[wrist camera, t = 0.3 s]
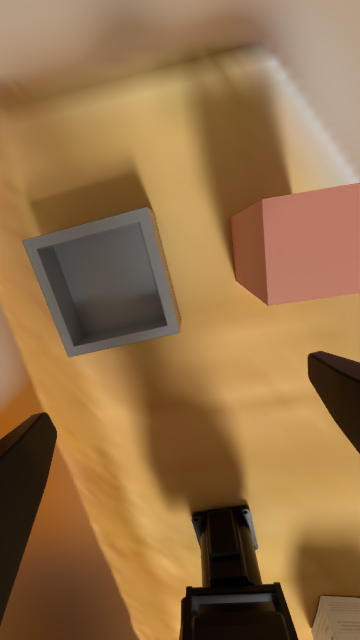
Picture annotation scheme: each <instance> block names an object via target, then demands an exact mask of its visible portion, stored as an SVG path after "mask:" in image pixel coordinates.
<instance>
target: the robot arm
mask: <svg viewBox="0 0 360 640" xmlns="http://www.w3.org/2000/svg"><path fill="white" fill-rule="evenodd" d="M308 376H309V379H310V382H311V383H312V385H313V386H314V388H315V390H316V391H317V393H318V395H319V396H320V398H321V400H322V401H323V403H324V405H325V406H326V408H327V409H328V411H329V413H330V414H331V416H332V417H333V419H334V421H335V422H336V423H337V425H338V426H339V427H340V429H341V430H342V431H343V433H344V434H345V435H346V437H347V438H348V439H349V440H350V442H351V443H352V444H353V446H354V447H355V448H356V450H357V451H358V452H359V454H360V363H359V362H356V361H353V360H350V359H346V358H343V357H340V356H336V355H333V354H330V353H326V352H323V351H318V352H314V353H310V354H309V355H308ZM56 439H57V431H56V428H55V426H54V424H53V423H52V421H51V419H50V417H49V415H48V414H47V413H45V412H43V413H38V414H34V415H32V416H31V417H29V418H28V419H27V420H25V421H24V422H23V423H21V424H20V425H19V426H17V427H16V428H15V429H14V430H12V431H11V432H10V433H8V434H7V435H6V436H5V437H3V438H2V439H0V625H1V622H2V619H3V616H4V613H5V609H6V607H7V604H8V600H9V597H10V594H11V591H12V588H13V585H14V582H15V579H16V576H17V573H18V570H19V567H20V564H21V560H22V557H23V554H24V551H25V548H26V545H27V542H28V539H29V536H30V533H31V530H32V526H33V523H34V520H35V517H36V514H37V511H38V508H39V505H40V502H41V498H42V496H43V493H44V489H45V486H46V483H47V479H48V475H49V470H50V466H51V461H52V457H53V452H54V448H55V443H56ZM192 523H193V526H194V529H195V532H196V536H197V539H198V542H199V545H200V549H201V567H202V587H194V588H192V586H187V587H186V597H184V598H183V599H182V600H181V628H180V636H179V640H298V637H297V634H296V631H295V628H294V625H293V622H292V619H291V616H290V612H289V609H288V606H287V603H286V600H285V597H284V594H283V591H282V588H281V585H280V582H274V584H262V580H261V576H260V571H259V567H258V562H257V558H256V553H255V550H257V549H258V545H257V541H256V536H255V532H254V527H253V523H252V518H251V514H250V509H249V507H248V506H238V507H231V508H225V509H218V510H212V511H205V512H198V513H194V514H192Z"/></svg>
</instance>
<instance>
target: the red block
mask: <svg viewBox="0 0 360 640" xmlns="http://www.w3.org/2000/svg"><path fill="white" fill-rule="evenodd" d="M230 220H231V231H232V242H233V253H234V264H235V275H236V281H237V282H238V283H239V284H241V285H242V286H243V287H245V288H246V289H247V290H248V291H250V292H251V293H252V294H254V295H255V296H256V297H257V298H259V299H260V300H261V301H263V302H264V303H265V304H267V305H268V306H270V305H278V304H285V303H292V302H299V301H306V300H314V299H321V298H328V297H335V296H342V295H350V294H357V293H360V183H356V184H350V185H344V186H338V187H332V188H326V189H320V190H314V191H308V192H302V193H296V194H290V195H284V196H278V197H272V198H266V199H262V200H260V201H258V202H256V203H255V204H253V205H251V206H250V207H248V208H246V209H245V210H243V211H241V212H239V213H238V214H236V215H234V216H233V217H231V218H230Z"/></svg>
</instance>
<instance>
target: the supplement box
mask: <svg viewBox="0 0 360 640" xmlns="http://www.w3.org/2000/svg"><path fill="white" fill-rule="evenodd" d="M311 632H312V635H313V638H314V640H360V598H356V597H339V596H321V597H320V602H319V607H318V611H317V614H316V618H315V621H314V624H313V627H312V630H311Z"/></svg>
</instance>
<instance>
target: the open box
mask: <svg viewBox="0 0 360 640" xmlns="http://www.w3.org/2000/svg"><path fill="white" fill-rule="evenodd" d="M23 244H24V246H25V249H26V252H27V254H28V257H29V259H30V262H31V264H32V267H33V269H34V272H35V274H36V277H37V279H38V282H39V284H40V287H41V290H42V292H43V295H44V297H45V300H46V302H47V305H48V307H49V310H50V312H51V315H52V317H53V320H54V322H55V325H56V328H57V330H58V333H59V335H60V338H61V340H62V343H63V345H64V348H65V350H66V353H67V355H68V357H73V356H77V355H82V354H86V353H91V352H95V351H100V350H104V349H109V348H113V347H118V346H123V345H127V344H132V343H136V342H141V341H145V340H150V339H154V338H159V337H163V336H168V335H172V334H177V333H180V326H181V317H180V314H179V310H178V306H177V302H176V298H175V294H174V290H173V286H172V282H171V278H170V274H169V270H168V266H167V262H166V258H165V254H164V250H163V246H162V242H161V238H160V234H159V230H158V226H157V222H156V218H155V214H154V212H153V211H152V210H151V209H149V208H148V207H145V208H141V209H137V210H134V211H130V212H126V213H123V214H119V215H115V216H112V217H108V218H104V219H100V220H97V221H93V222H89V223H86V224H82V225H78V226H75V227H71V228H67V229H63V230H60V231H56V232H52V233H49V234H45V235H41V236H38V237H34V238H30V239H27V240H23Z"/></svg>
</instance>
